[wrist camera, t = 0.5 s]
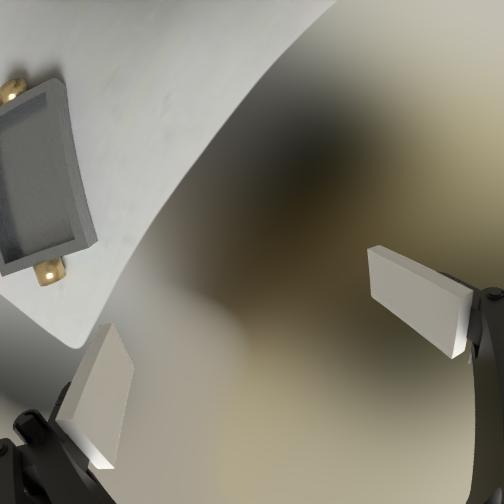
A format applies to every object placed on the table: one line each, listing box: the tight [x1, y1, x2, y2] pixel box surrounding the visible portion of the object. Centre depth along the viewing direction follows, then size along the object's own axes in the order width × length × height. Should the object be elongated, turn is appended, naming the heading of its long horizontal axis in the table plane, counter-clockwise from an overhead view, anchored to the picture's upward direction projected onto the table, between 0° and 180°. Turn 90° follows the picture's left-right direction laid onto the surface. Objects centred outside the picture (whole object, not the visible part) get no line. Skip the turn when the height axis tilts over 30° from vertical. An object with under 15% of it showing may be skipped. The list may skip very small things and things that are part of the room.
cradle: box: [0, 77, 98, 286], centre depth 31 cm, size 29×16×4 cm, turn 12°
